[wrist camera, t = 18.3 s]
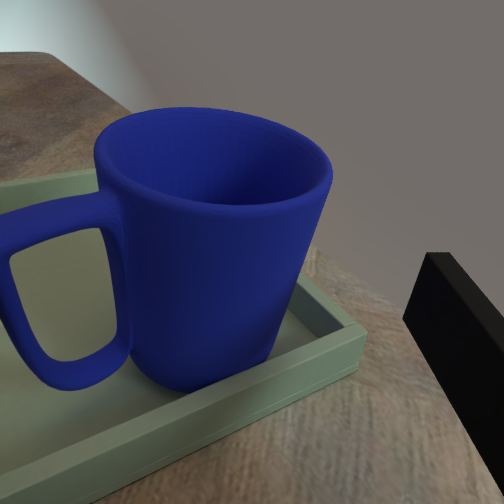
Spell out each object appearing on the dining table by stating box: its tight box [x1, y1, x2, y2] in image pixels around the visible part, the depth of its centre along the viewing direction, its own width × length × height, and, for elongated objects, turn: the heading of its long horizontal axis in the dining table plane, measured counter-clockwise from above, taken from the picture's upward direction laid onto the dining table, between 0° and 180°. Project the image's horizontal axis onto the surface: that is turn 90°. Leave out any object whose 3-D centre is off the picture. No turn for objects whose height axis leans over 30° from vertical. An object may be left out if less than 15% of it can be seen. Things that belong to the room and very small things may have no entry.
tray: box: [0, 168, 368, 504], centre depth 25 cm, size 22×18×3 cm
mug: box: [0, 107, 333, 394], centre depth 18 cm, size 8×12×10 cm
